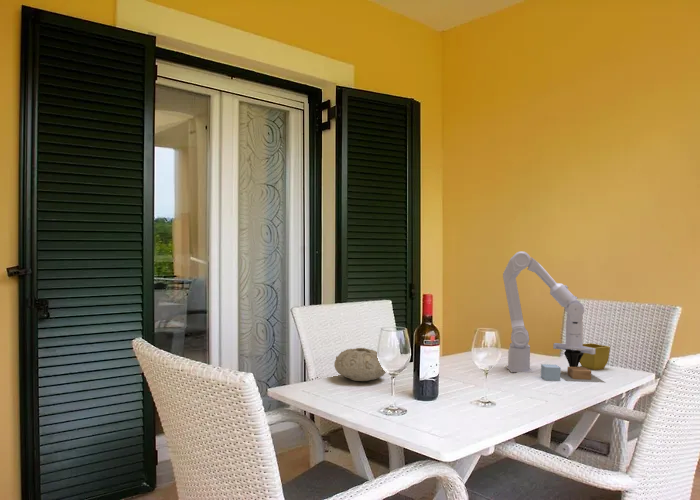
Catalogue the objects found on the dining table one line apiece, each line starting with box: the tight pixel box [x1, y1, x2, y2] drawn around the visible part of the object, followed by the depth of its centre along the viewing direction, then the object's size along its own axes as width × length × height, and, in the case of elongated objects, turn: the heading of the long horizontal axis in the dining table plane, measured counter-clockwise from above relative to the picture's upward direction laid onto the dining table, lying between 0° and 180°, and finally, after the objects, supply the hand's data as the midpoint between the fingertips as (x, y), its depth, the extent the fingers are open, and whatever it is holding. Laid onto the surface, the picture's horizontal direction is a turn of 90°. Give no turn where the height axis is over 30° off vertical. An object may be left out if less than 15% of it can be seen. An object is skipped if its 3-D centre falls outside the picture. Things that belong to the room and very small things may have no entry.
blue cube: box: [540, 363, 562, 382], centre depth 183 cm, size 5×5×5 cm
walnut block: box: [566, 366, 592, 380], centre depth 186 cm, size 6×6×3 cm
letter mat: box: [560, 372, 607, 384], centre depth 186 cm, size 13×13×1 cm
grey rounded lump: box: [333, 347, 387, 382], centre depth 179 cm, size 18×18×10 cm
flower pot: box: [579, 342, 611, 371], centre depth 202 cm, size 9×9×9 cm
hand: (573, 371), depth 192 cm, fingers closed
